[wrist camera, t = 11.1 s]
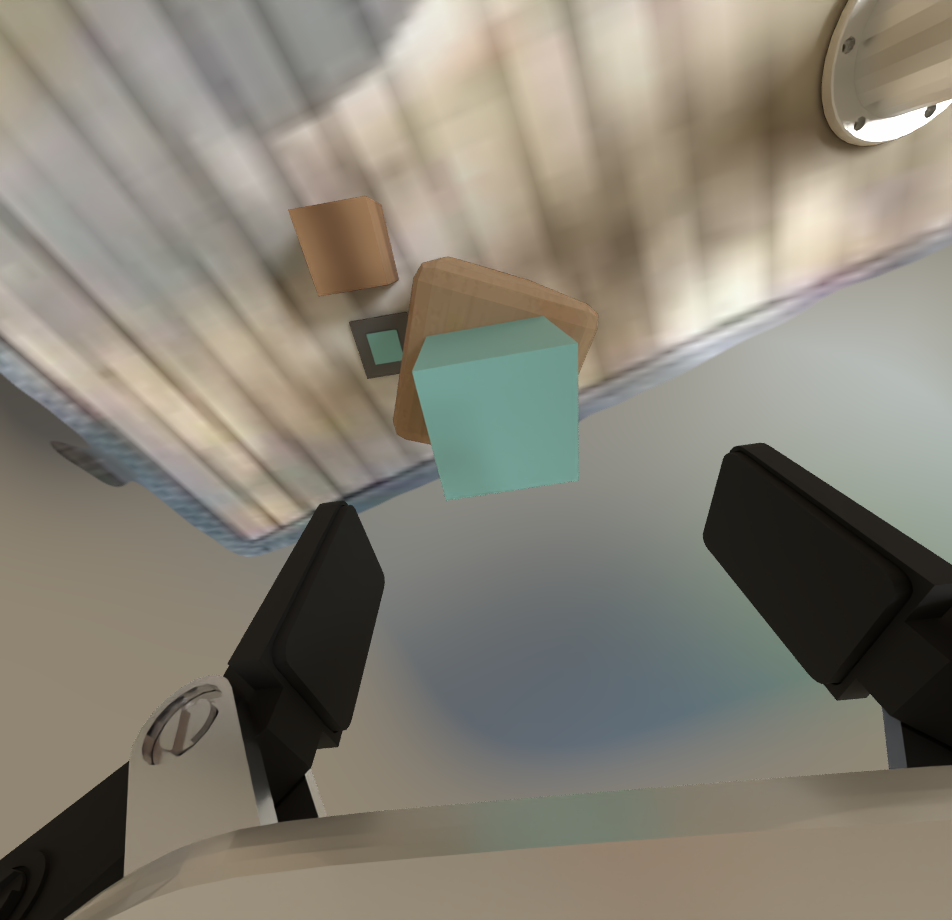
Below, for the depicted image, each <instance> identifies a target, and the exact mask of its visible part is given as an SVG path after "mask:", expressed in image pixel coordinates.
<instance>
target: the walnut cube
mask: <svg viewBox="0 0 952 920" xmlns="http://www.w3.org/2000/svg"><path fill="white" fill-rule="evenodd" d="M288 211H289V214H290V217H291V219H292V222H293V225H294V228H295V231H296V234H297V236H298V239H299V242H300V245H301V248H302V251H303V254H304V256H305V259H306V262H307V265H308V268H309V271H310V273H311V276H312V279H313V282H314V285H315V288H316V290H317V293H318V296H324V295H330V294H336V293H342V292H348V291H354V290H360V289H365V288H371V287H377V286H383V285H388V284H391V283H393V282H395V281H397V280H399V278H398V274H397V270H396V265H395V261H394V257H393V253H392V248H391V244H390V240H389V236H388V231H387V227H386V223H385V219H384V214H383V210H382V206H381V204H379V203H377V202H375V201H374V200H372V199H370V198H369V197H367V196H361V197H356V198H350V199H345V200H339V201H334V202H328V203H323V204H317V205H312V206H306V207H301V208H295V209H290V210H288Z"/></svg>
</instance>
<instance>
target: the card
mask: <svg viewBox="0 0 952 920" xmlns="http://www.w3.org/2000/svg"><path fill="white" fill-rule="evenodd" d="M407 321H408V315H407V312H404V313H398V314H392V315H386V316H381V317H375V318H369V319H363V320H357V321H352V322H349V324H350V327H351V330H352V333H353V336H354V339H355V342H356V345H357V348H358V351H359V354H360V357H361V360H362V363H363V366H364V369H365V372H366V376H367V379H369V378H375V377H381V376H387V375H393V374H399V373H400V369H401V362H402V355H403V348H404V341H405V334H406V328H407Z"/></svg>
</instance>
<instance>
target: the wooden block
mask: <svg viewBox="0 0 952 920" xmlns="http://www.w3.org/2000/svg"><path fill="white" fill-rule="evenodd" d="M540 316H544V317H545V318H547V319H548V320H549V321H550V322H552V323H553V324H554V325H556V326H557V327H558V328H559V329H561V330H562V331H563V332H565V333H566V334H567V335H568V336H570V337H571V338H572V339H574V340H575V341H576V342H577V343H578V374H579V372H580V369H581V367H582V365H583V362H584V360H585V357H586V355H587V353H588V350H589V348H590V345H591V343H592V340H593V338H594V336H595V333H596V331H597V324H598V314H597V313H596V312H595V311H594V310H593V309H592V308H591V307H590V306H589V305H588V304H585V303H583V302H581V301H578V300H576V299H573V298H571V297H568V296H566V295H564V294H561V293H559V292H556V291H554V290H552V289H549V288H547V287H544V286H542V285H539V284H537V283H535V282H532V281H530V280H526V279H523V278H520V277H516V276H513V275H510V274H506V273H503V272H499V271H496V270H493V269H489V268H486V267H482V266H479V265H476V264H472V263H469V262H465V261H462V260H459V259H455V258H452V257H444V258H439V259H436V260H432V261H429V262H425V263H422V264H421V266H420V268H419V269H418V271H417V273H416V274H415V276H414V279H413V286H412V293H411V300H410V307H409V314H408V321H407V328H406V334H405V341H404V348H403V355H402V362H401V369H400V376H399V383H398V390H397V397H396V404H395V411H394V418H393V422H394V426H395V429H396V433H397V435H399V436H400V437H402V438H404V439H406V440H411V441H416V442H421V443H426V444H431V442H430V438H429V434H428V430H427V427H426V423H425V419H424V415H423V411H422V408H421V404H420V400H419V396H418V392H417V389H416V385H415V381H414V377H413V373H412V370H413V368H414V366H415V363H416V361H417V358H418V356H419V353H420V351H421V348H422V346H423V344H424V341H425V339H426V337H427V336H432V335H438V334H444V333H449V332H455V331H461V330H466V329H472V328H478V327H483V326H489V325H495V324H500V323H506V322H511V321H517V320H523V319H528V318H534V317H540Z"/></svg>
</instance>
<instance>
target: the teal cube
mask: <svg viewBox="0 0 952 920" xmlns="http://www.w3.org/2000/svg"><path fill="white" fill-rule="evenodd" d="M412 373H413V377H414V381H415V385H416V389H417V392H418V396H419V400H420V404H421V408H422V411H423V415H424V419H425V423H426V427H427V430H428V434H429V438H430V442H431V446H432V449H433V453H434V457H435V461H436V465H437V468H438V472H439V476H440V480H441V483H442V487H443V491H444V495H445V499H446V501H447V500H453V499H459V498H466V497H473V496H479V495H486V494H492V493H499V492H506V491H512V490H519V489H525V488H532V487H538V486H545V485H552V484H558V483H565V482H572V481H578V480H579V465H578V464H579V461H578V460H579V457H578V454H579V453H578V343H577V342H576V341H575V340H574V339H572V338H571V337H570V336H568V335H567V334H566V333H565V332H563V331H562V330H561V329H559V328H558V327H557V326H556V325H554V324H553V323H552V322H550V321H549V320H548V319H547V318H545V317H544V316H540V317H534V318H528V319H523V320H517V321H511V322H506V323H500V324H495V325H489V326H483V327H478V328H472V329H466V330H461V331H455V332H449V333H444V334H438V335H432V336H427V337H426V339H425V341H424V344H423V346H422V348H421V351H420V353H419V356H418V358H417V361H416V363H415V366H414V368H413V370H412Z"/></svg>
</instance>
